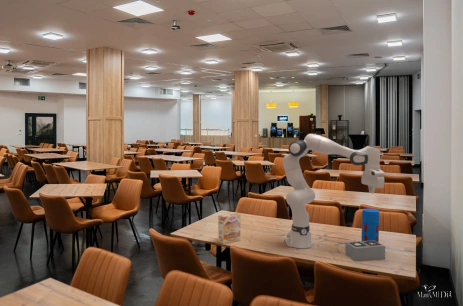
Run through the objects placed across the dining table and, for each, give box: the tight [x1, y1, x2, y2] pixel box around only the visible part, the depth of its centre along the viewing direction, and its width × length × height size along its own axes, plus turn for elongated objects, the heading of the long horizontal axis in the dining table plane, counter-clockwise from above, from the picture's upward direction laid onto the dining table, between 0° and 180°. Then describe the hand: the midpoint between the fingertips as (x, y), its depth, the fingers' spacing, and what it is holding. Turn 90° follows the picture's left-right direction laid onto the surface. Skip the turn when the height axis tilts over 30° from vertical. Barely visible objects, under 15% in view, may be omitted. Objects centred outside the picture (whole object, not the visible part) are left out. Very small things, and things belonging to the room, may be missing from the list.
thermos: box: [360, 208, 380, 243], centre depth 250 cm, size 11×11×25 cm
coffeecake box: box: [217, 212, 242, 245], centre depth 263 cm, size 15×7×20 cm, turn 126°
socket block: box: [344, 240, 386, 262], centre depth 232 cm, size 20×12×8 cm, turn 101°
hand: (371, 193), depth 235 cm, fingers closed
